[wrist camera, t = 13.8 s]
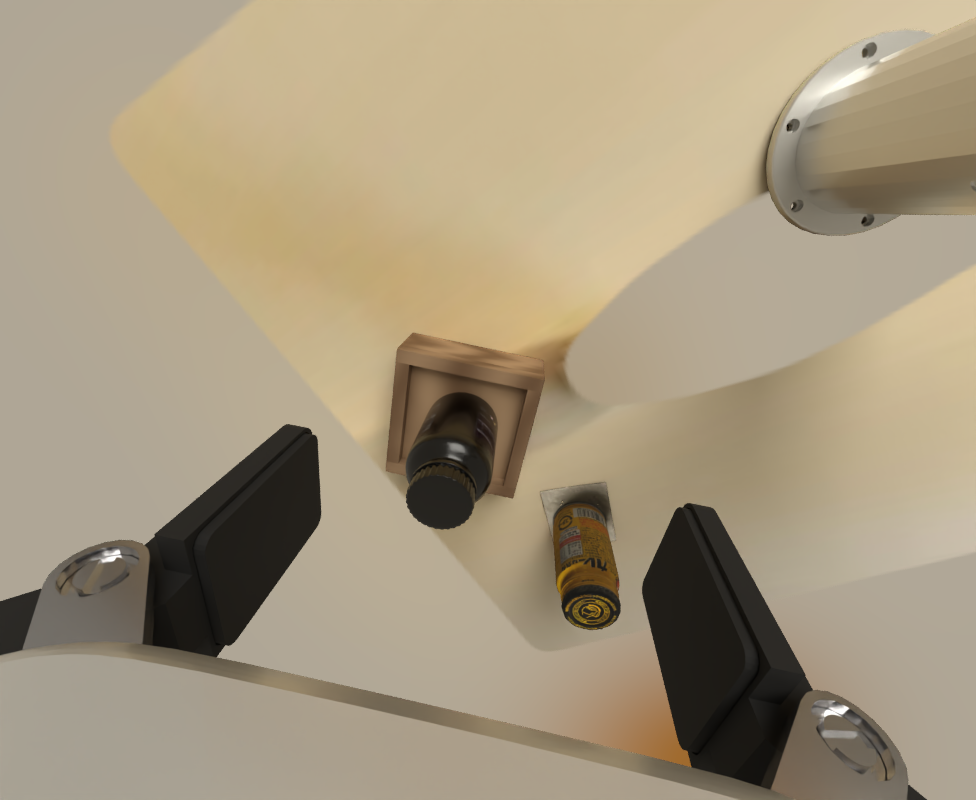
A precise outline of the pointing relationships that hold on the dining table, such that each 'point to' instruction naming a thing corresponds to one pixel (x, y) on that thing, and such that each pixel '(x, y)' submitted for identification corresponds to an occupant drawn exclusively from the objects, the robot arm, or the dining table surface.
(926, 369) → the dining table surface
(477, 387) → the walnut tray
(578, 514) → the condiment
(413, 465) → the supplement bottle
